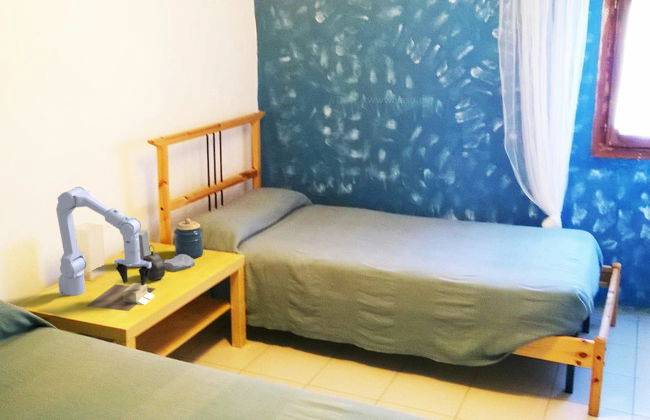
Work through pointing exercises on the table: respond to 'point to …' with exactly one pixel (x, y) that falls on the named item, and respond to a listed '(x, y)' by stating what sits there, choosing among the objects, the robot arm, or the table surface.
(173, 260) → the stone block
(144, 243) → the skincare box
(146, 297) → the paint flake
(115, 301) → the walnut board
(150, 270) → the alarm clock
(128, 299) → the block
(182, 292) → the table surface
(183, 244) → the canister
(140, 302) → the paint flake
